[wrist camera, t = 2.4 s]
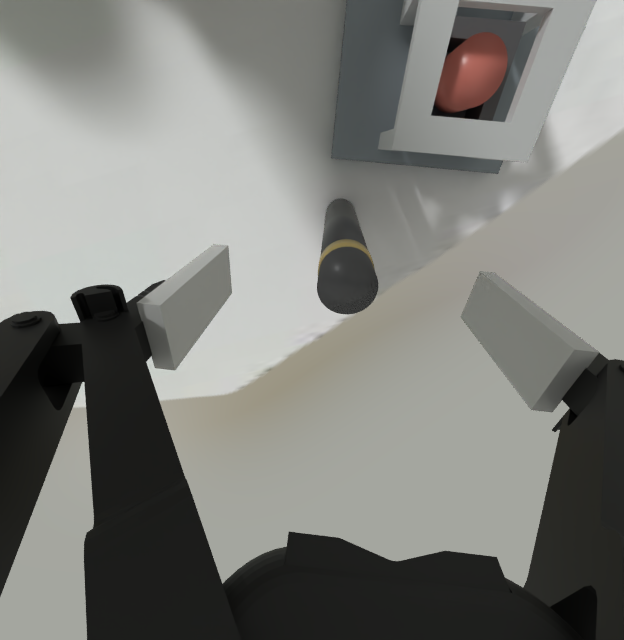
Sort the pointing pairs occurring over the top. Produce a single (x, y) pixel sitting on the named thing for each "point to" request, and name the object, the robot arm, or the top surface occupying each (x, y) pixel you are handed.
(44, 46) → the top surface
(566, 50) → the grey framed button station
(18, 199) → the top surface
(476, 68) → the button
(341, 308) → the stylus
